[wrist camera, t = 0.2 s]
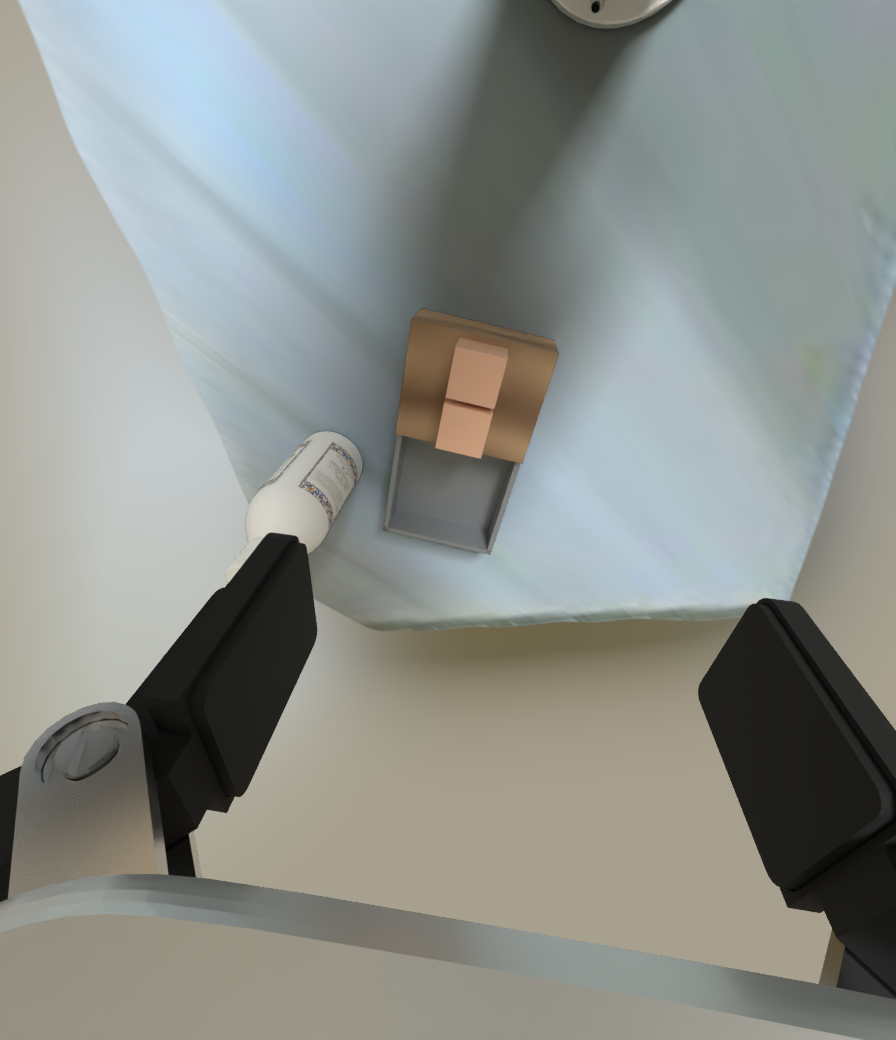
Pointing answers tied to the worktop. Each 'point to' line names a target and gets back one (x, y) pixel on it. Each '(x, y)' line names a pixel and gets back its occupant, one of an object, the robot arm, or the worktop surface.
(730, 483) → the worktop surface
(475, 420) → the light orange block
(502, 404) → the brown slab
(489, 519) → the tray
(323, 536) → the bath foam
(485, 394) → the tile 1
